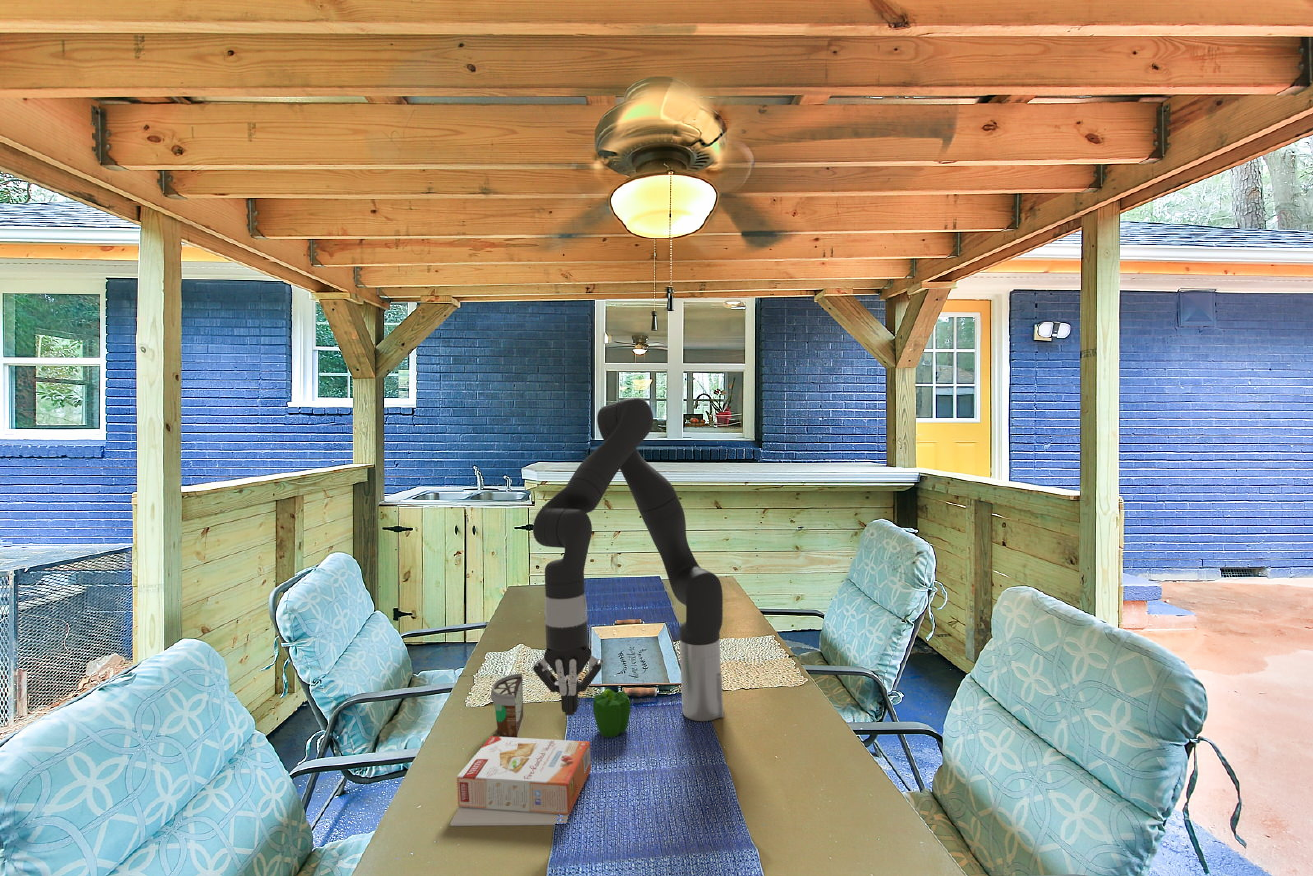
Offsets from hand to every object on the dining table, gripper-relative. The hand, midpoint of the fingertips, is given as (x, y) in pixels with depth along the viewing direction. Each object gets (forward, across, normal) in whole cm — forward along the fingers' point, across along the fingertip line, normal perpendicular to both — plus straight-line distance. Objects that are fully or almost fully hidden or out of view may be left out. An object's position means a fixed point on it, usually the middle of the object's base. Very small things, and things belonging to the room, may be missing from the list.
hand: (570, 713), depth 108 cm
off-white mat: (+15, +10, -1) cm, 18 cm away
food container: (+15, +20, -24) cm, 35 cm away
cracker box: (+12, -2, -1) cm, 12 cm away
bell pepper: (+15, -4, -22) cm, 27 cm away
